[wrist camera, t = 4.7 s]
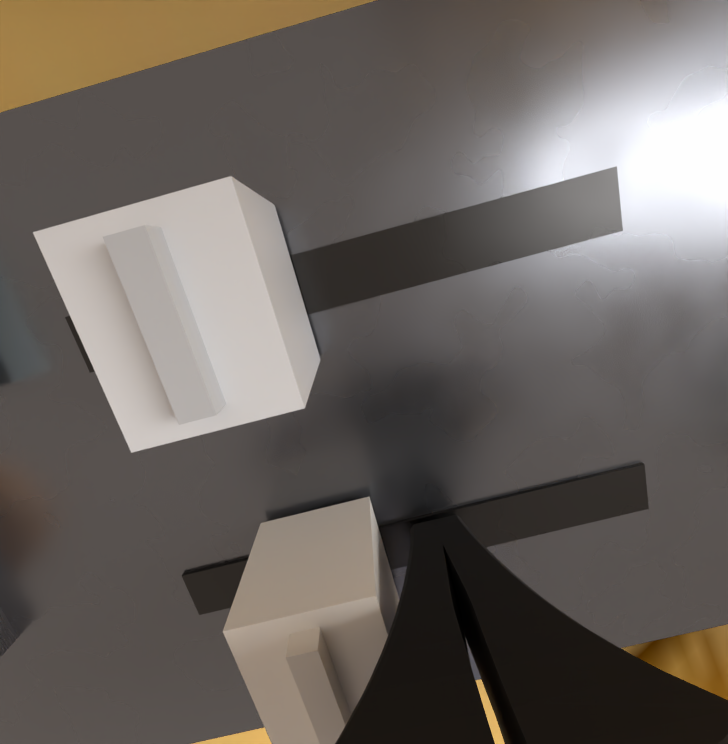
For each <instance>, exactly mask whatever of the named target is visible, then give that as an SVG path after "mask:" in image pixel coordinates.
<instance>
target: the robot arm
mask: <svg viewBox="0 0 728 744" xmlns="http://www.w3.org/2000/svg"><path fill="white" fill-rule="evenodd" d="M410 534H411V538H410V551H409V558H408V564H407V569H406V574H405V579H404V584H403V588H402V592H401V596H400V599H399V603H398V606H397V610H396V614H395V617H394V620H393V623H392V626H391V629H390V632H389V634H388V637H387V640H386V642H385V645H384V648H383V650H382V653H381V655H380V657H379V660H378V662H377V664H376V666H375V669H374V671H373V673H372V676H371V678H370V680H369V682H368V684H367V686H366V688H365V690H364V692H363V694H362V696H361V698H360V700H359V702H358V704H357V705H356V707H355V709H354V711H353V713H352V715H351V716H350V718H349V720H348V722H347V724H346V726H345V727H344V729H343V731H342V733H341V734H340V736H339V738H338V739H337V741H336V743H335V744H495V743H494V740H493V737H492V733H491V730H490V727H489V724H488V721H487V717H486V714H485V711H484V708H483V704H482V701H481V698H480V694H479V691H478V688H477V685H476V681H475V678H474V675H473V671H472V668H471V664H470V658H469V653H468V648H467V643H468V645H469V648H470V651H471V653H472V656H473V658H474V661H475V664H476V666H477V669H478V671H479V674H480V676H481V679H482V682H483V684H484V687H485V689H486V692H487V695H488V697H489V700H490V702H491V705H492V708H493V710H494V713H495V716H496V718H497V721H498V724H499V727H500V730H501V733H502V736H503V739H504V742H505V744H728V700H726V699H724V698H721V697H719V696H717V695H715V694H712V693H710V692H708V691H706V690H704V689H701V688H699V687H697V686H695V685H693V684H690V683H688V682H686V681H684V680H681V679H679V678H677V677H675V676H673V675H670V674H668V673H666V672H664V671H662V670H660V669H658V668H656V667H654V666H652V665H650V664H648V663H646V662H644V661H642V660H641V659H639V658H637V657H635V656H633V655H631V654H629V653H628V652H626V651H624V650H623V649H621V648H619V647H617V646H616V645H614V644H612V643H611V642H609V641H607V640H606V639H604V638H602V637H601V636H599V635H597V634H596V633H594V632H592V631H590V630H589V629H587V628H586V627H584V626H582V625H581V624H580V623H578V622H577V621H575V620H574V619H572V618H571V617H569V616H568V615H566V614H565V613H563V612H562V611H560V610H559V609H558V608H556V607H555V606H553V605H552V604H551V603H549V602H548V601H547V600H545V599H544V598H543V597H541V596H540V595H539V594H537V593H536V592H535V591H534V590H532V589H531V588H530V587H529V586H528V585H526V584H525V583H524V582H523V581H522V580H520V579H519V578H518V577H517V576H516V575H515V574H513V573H512V572H511V571H510V570H509V569H508V568H507V567H506V566H505V565H503V564H502V563H501V562H500V561H499V560H498V559H497V558H496V557H495V556H494V555H493V554H492V553H491V552H490V551H489V550H488V549H487V548H486V547H485V546H484V545H483V544H482V543H481V542H480V541H479V540H478V538H477V537H476V536H475V535H474V534H473V533H472V532H471V531H470V529H469V528H468V527H467V526H466V524H465V523H464V522H463V520H462V519H461V517H459V516H457V515H452V516H447V517H443V518H439V519H435V520H431V521H426V522H422V523H418V524H414V525H413V526H412V527H411V529H410ZM465 637H466V638H465ZM466 640H467V643H466Z"/></svg>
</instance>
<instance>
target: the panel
mask: <svg viewBox="0 0 728 744" xmlns="http://www.w3.org/2000/svg"><path fill="white" fill-rule="evenodd" d="M229 176H232V177H233V178H235V179H236V180H238V181H239V182H241V183H242V184H244V185H245V186H247V187H248V188H250V189H251V190H253V191H254V192H256V193H257V194H259V195H260V196H262V197H263V198H265V199H266V200H268V201H269V202H271V203H272V204H274V205H275V208H276V212H277V215H278V218H279V222H280V225H281V228H282V232H283V235H284V238H285V242H286V245H287V249H288V252H289V255H290V259H291V262H292V265H293V269H294V272H295V275H296V279H297V282H298V286H299V289H300V292H301V296H302V299H303V302H304V306H305V309H306V312H307V316H308V319H309V323H310V326H311V329H312V333H313V336H314V339H315V343H316V346H317V349H318V353H319V356H320V363H319V366H318V369H317V372H316V375H315V378H314V381H313V385H312V388H311V391H310V394H309V397H308V400H307V403H306V406H305V408H304V409H300V410H296V411H292V412H288V413H285V414H281V415H277V416H273V417H269V418H265V419H261V420H257V421H253V422H249V423H245V424H242V425H238V426H234V427H230V428H226V429H222V430H218V431H214V432H210V433H206V434H203V435H199V436H195V437H191V438H187V439H183V440H179V441H175V442H171V443H167V444H164V445H160V446H156V447H152V448H148V449H144V450H140V451H136V452H132V453H131V451H130V449H129V447H128V444H127V442H126V440H125V438H124V435H123V433H122V431H121V429H120V426H119V424H118V422H117V420H116V417H115V415H114V413H113V411H112V409H111V406H110V404H109V402H108V400H107V397H106V395H105V393H104V391H103V388H102V386H101V384H100V382H99V379H98V377H97V375H96V373H95V370H94V368H93V366H92V364H91V362H90V359H89V357H88V355H87V353H86V350H85V348H84V346H83V344H82V341H81V339H80V337H79V335H78V332H77V330H76V328H75V326H74V324H73V321H72V319H71V317H70V315H69V312H68V310H67V308H66V306H65V303H64V301H63V299H62V297H61V294H60V292H59V290H58V288H57V286H56V283H55V281H54V279H53V277H52V274H51V272H50V270H49V268H48V265H47V263H46V261H45V259H44V256H43V254H42V252H41V250H40V248H39V245H38V243H37V241H36V239H35V236H34V234H33V232H36V231H39V230H43V229H46V228H50V227H53V226H57V225H60V224H64V223H67V222H71V221H74V220H78V219H81V218H85V217H89V216H92V215H96V214H99V213H103V212H106V211H110V210H113V209H117V208H120V207H124V206H127V205H131V204H134V203H138V202H141V201H145V200H148V199H152V198H155V197H159V196H162V195H166V194H170V193H173V192H177V191H180V190H184V189H187V188H191V187H194V186H198V185H201V184H205V183H208V182H212V181H215V180H219V179H222V178H226V177H229ZM365 497H370V501H371V504H372V507H373V511H374V514H375V518H376V521H377V525H378V528H379V531H380V535H381V538H382V542H383V545H384V549H385V552H386V555H387V559H388V562H389V566H390V569H391V573H392V576H393V579H394V583H395V586H396V590H397V593H398V597H399V599H400V596H401V592H402V588H403V584H404V579H405V574H406V569H407V564H408V558H409V551H410V538H411V534H410V529H411V527H412V526H413V525H414V524H418V523H422V522H426V521H431V520H435V519H439V518H443V517H447V516H452V515H457V516H459V517H461V519H462V520H463V522H464V523H465V524H466V526H467V527H468V528H469V529H470V531H471V532H472V533H473V534H474V535H475V536H476V537H477V538H478V540H479V541H480V542H481V543H482V544H483V545H484V546H485V547H486V548H487V549H488V550H489V551H490V552H491V553H492V554H493V555H494V556H495V557H496V558H497V559H498V560H499V561H500V562H501V563H502V564H503V565H505V566H506V567H507V568H508V569H509V570H510V571H511V572H512V573H513V574H515V575H516V576H517V577H518V578H519V579H520V580H522V581H523V582H524V583H525V584H526V585H528V586H529V587H530V588H531V589H532V590H534V591H535V592H536V593H537V594H539V595H540V596H541V597H543V598H544V599H545V600H547V601H548V602H549V603H551V604H552V605H553V606H555V607H556V608H558V609H559V610H560V611H562V612H563V613H565V614H566V615H568V616H569V617H571V618H572V619H574V620H575V621H577V622H578V623H580V624H581V625H582V626H584V627H586V628H587V629H589V630H590V631H592V632H594V633H596V634H597V635H599V636H601V637H602V638H604V639H606V640H607V641H609V642H611V643H612V644H614V645H616V646H617V647H619V648H623V647H627V646H632V645H636V644H641V643H645V642H650V641H654V640H659V639H663V638H667V637H672V636H676V635H681V634H685V633H690V632H694V631H699V630H703V629H708V628H712V627H717V626H721V625H726V624H728V0H377V1H373V2H370V3H367V4H363V5H360V6H357V7H353V8H350V9H347V10H343V11H340V12H336V13H333V14H330V15H326V16H323V17H320V18H316V19H313V20H310V21H306V22H303V23H300V24H296V25H293V26H290V27H286V28H283V29H279V30H276V31H273V32H269V33H266V34H263V35H259V36H256V37H253V38H249V39H246V40H243V41H239V42H236V43H233V44H229V45H226V46H222V47H219V48H216V49H212V50H209V51H206V52H202V53H199V54H196V55H192V56H189V57H186V58H182V59H179V60H176V61H172V62H169V63H166V64H162V65H159V66H155V67H152V68H149V69H145V70H142V71H139V72H135V73H132V74H129V75H125V76H122V77H119V78H115V79H112V80H109V81H105V82H102V83H98V84H95V85H92V86H88V87H85V88H82V89H78V90H75V91H72V92H68V93H65V94H62V95H58V96H55V97H52V98H48V99H45V100H41V101H38V102H35V103H31V104H28V105H25V106H21V107H18V108H15V109H11V110H8V111H5V112H1V113H0V744H191V743H196V742H200V741H205V740H209V739H214V738H218V737H223V736H227V735H232V734H236V733H241V732H245V731H250V730H254V729H259V728H263V727H264V725H263V722H262V720H261V718H260V716H259V713H258V711H257V709H256V706H255V704H254V702H253V700H252V697H251V695H250V693H249V691H248V688H247V686H246V684H245V681H244V679H243V677H242V675H241V672H240V670H239V668H238V665H237V663H236V661H235V659H234V656H233V654H232V652H231V649H230V647H229V645H228V643H227V640H226V638H225V636H224V633H223V629H224V626H225V624H226V621H227V618H228V615H229V612H230V609H231V606H232V604H233V601H234V598H235V595H236V592H237V589H238V586H239V584H240V581H241V578H242V575H243V572H244V569H245V566H246V564H247V561H248V558H249V555H250V552H251V549H252V546H253V544H254V541H255V538H256V535H257V532H258V529H259V526H260V524H261V523H263V522H267V521H271V520H275V519H280V518H284V517H288V516H292V515H296V514H300V513H304V512H308V511H312V510H316V509H320V508H324V507H329V506H333V505H337V504H341V503H345V502H349V501H353V500H357V499H361V498H365ZM465 638H466V637H465ZM466 643H467V640H466ZM467 648H468V653H469V658H470V664H471V668H472V671H473V675H474V678H475V680H479V679H481V676H480V674H479V671H478V669H477V666H476V664H475V661H474V658H473V656H472V653H471V651H470V648H469V645H468V643H467Z"/></svg>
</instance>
